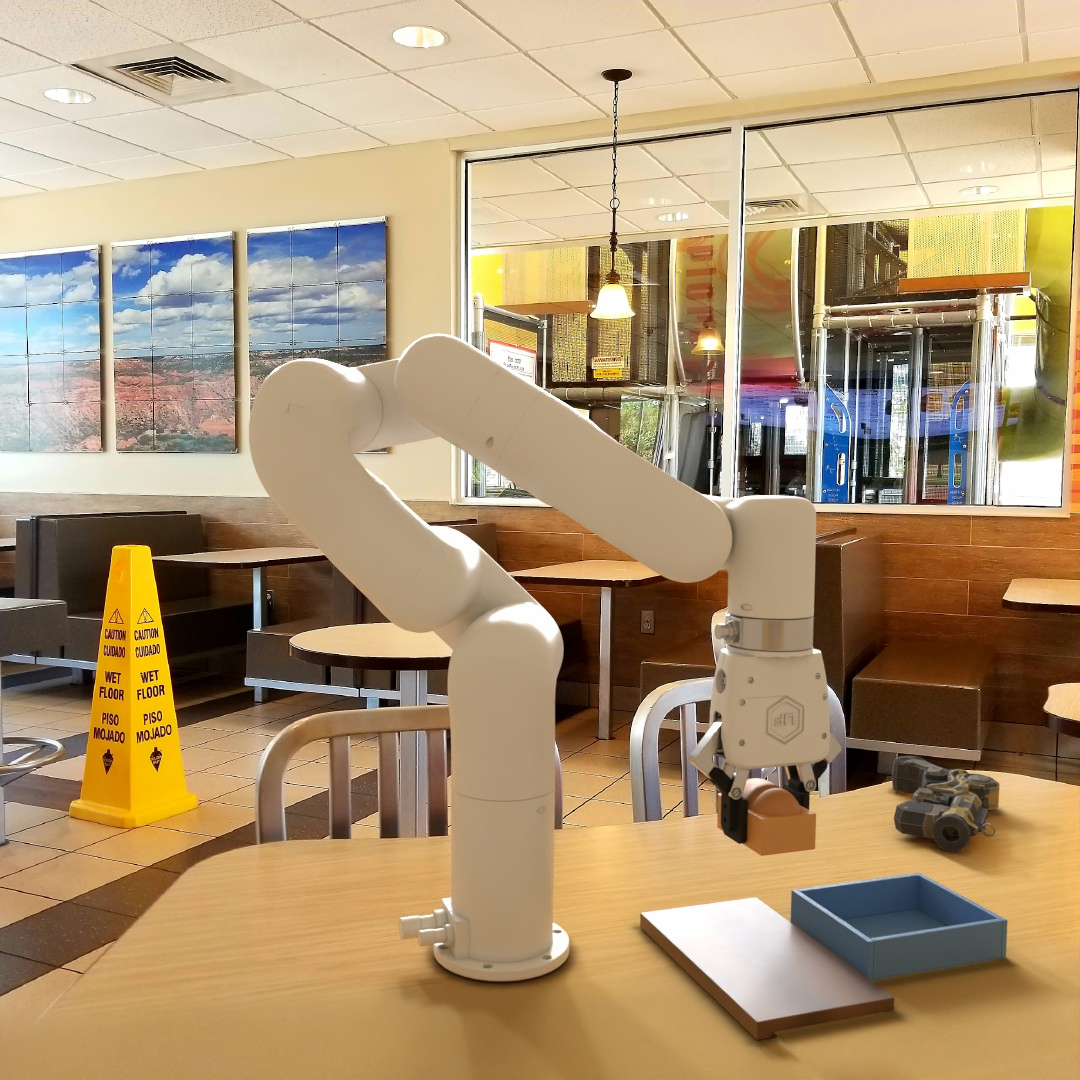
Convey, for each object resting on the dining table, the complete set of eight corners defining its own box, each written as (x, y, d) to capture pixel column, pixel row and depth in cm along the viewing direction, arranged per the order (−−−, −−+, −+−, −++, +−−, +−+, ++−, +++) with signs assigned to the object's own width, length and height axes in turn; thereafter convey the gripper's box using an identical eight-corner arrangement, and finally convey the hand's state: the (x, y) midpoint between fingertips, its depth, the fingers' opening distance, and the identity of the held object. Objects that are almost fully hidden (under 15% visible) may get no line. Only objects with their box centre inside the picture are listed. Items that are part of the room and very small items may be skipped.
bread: (761, 856, 92) (762, 798, 91) (716, 827, 99) (718, 774, 99) (815, 849, 93) (817, 793, 93) (767, 821, 101) (769, 769, 100)
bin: (867, 986, 94) (868, 941, 93) (790, 929, 105) (791, 889, 105) (1006, 962, 99) (1007, 919, 98) (918, 910, 110) (919, 872, 110)
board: (756, 1040, 84) (757, 1022, 84) (639, 927, 105) (640, 912, 105) (894, 1015, 89) (895, 997, 89) (756, 911, 109) (756, 896, 109)
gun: (861, 799, 132) (993, 821, 125) (897, 752, 154) (1010, 768, 148) (860, 837, 132) (991, 860, 125) (895, 784, 155) (1008, 801, 148)
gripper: (703, 645, 89) (699, 860, 90) (877, 637, 94) (870, 838, 96) (663, 632, 96) (660, 831, 97) (827, 625, 101) (822, 813, 103)
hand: (764, 833), depth 96 cm, fingers closed on bread, 5 cm apart
